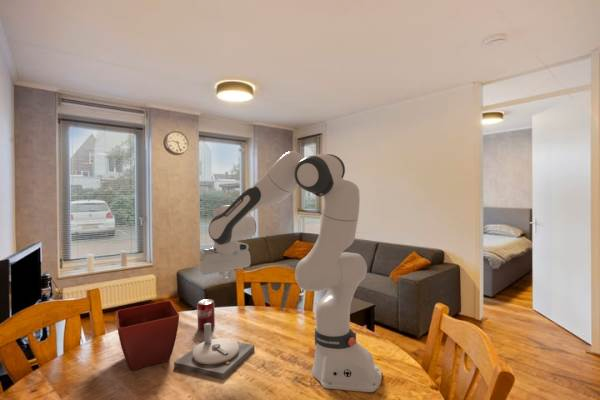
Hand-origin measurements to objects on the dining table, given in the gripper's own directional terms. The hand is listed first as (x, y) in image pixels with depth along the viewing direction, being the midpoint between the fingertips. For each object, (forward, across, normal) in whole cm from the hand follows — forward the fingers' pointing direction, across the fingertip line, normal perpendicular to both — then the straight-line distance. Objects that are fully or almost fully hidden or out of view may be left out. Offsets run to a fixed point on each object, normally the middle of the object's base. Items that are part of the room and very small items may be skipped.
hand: (226, 281), depth 122 cm
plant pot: (+25, -27, +10) cm, 38 cm away
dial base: (+25, -8, -7) cm, 27 cm away
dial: (+23, -8, -7) cm, 25 cm away
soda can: (+25, 0, +20) cm, 33 cm away
